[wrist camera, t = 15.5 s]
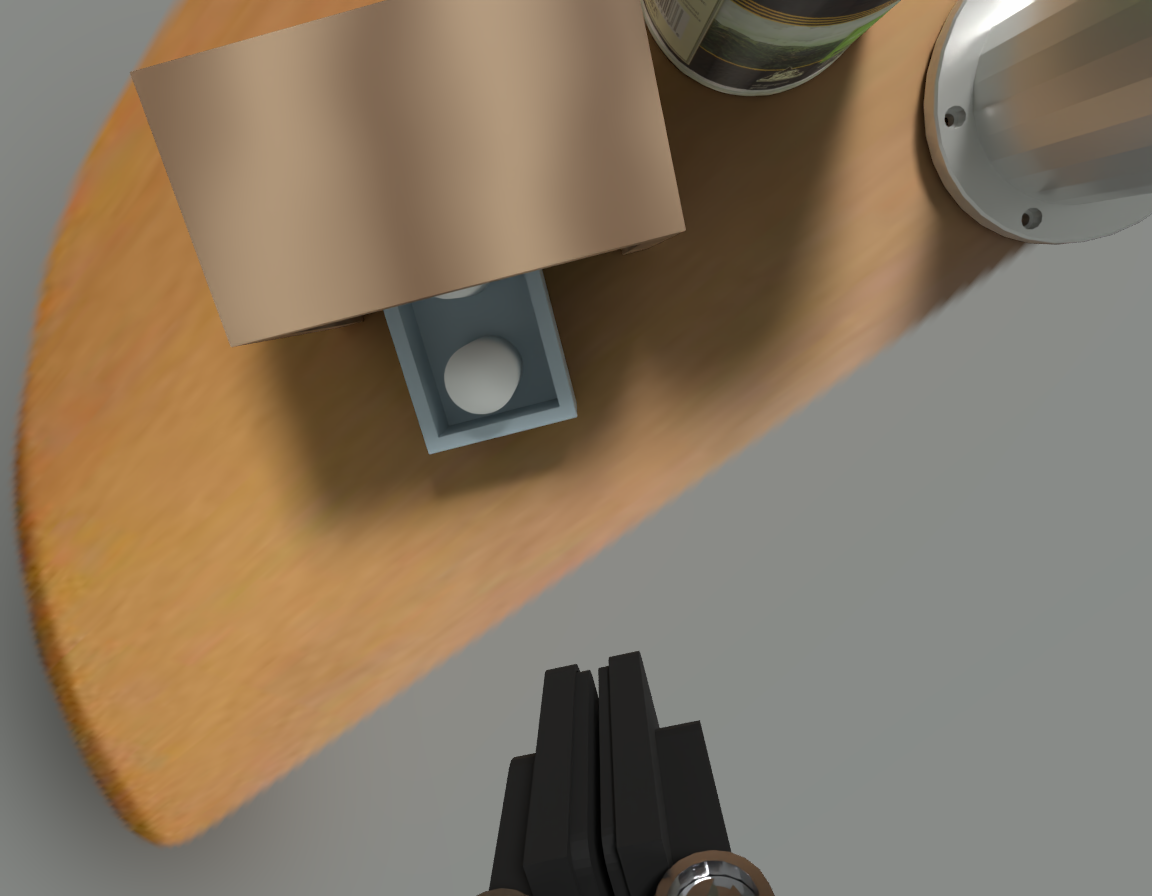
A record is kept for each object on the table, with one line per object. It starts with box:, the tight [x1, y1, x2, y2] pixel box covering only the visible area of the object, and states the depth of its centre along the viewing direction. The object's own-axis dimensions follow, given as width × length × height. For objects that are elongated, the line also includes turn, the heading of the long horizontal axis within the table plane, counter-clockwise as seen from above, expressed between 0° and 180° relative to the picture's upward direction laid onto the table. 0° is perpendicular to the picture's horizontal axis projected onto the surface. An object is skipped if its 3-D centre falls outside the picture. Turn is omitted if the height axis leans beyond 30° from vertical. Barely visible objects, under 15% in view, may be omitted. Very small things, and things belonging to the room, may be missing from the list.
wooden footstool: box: [130, 0, 686, 347], centre depth 24 cm, size 14×8×10 cm, turn 104°
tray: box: [383, 269, 577, 454], centre depth 28 cm, size 6×10×5 cm, turn 14°
